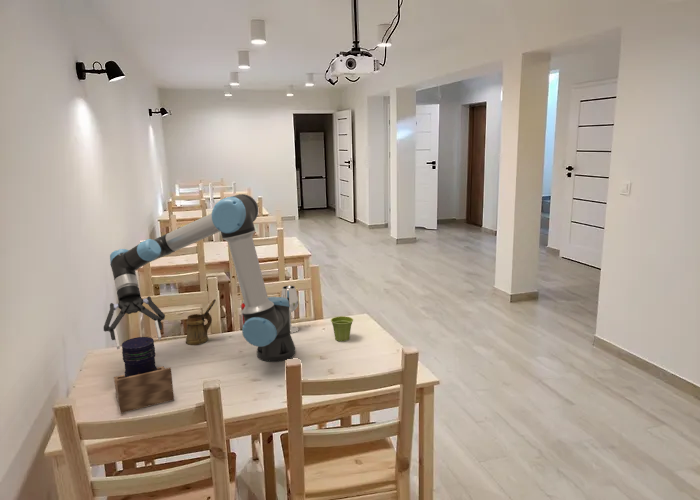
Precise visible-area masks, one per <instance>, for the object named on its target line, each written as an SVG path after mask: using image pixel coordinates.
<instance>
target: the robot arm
mask: <svg viewBox="0 0 700 500" xmlns="http://www.w3.org/2000/svg"><path fill="white" fill-rule="evenodd" d="M211 211H212V212H211V213H209V214H208V215H205V216H202V217H200V218H198V219H196V220H194V221H192V222H190V223H187V224H186V225H183V226H181V227H178V228H176V229H174V230H172V231H170V232H168V233H166V234H164V235H161V236H159V237H156V238H153V239H152V238H148V239H145V240H143V241H141V242H140V243H138V244H137V245H135V246H133V247H132V248H131V249H127V248H119V249H118V250H114V251H112V252H111V253H110V254H109V263H110V268H111V271H112V276H113V280H114V286H115V290H116V295H117V300H118V302H117V303H113V302H111V303H110V304H109V311H108V313H107V317H106V319H105V322H104V325H103V331H104V332H109V333H110V337H111V341H115V346H116V349H117V350H120V341H119V336H118V332H117V329H116V328H117V326H118V325H119V323H120V321H122V319H123V318H124V316H125V314H126V315H132V314H136V313H138V312H140V313H141V314H144V315H145V316H146V317H148V318H149V319H151V320H153V321H154V326H155V331H156V334H157V338H158V341H161V339H162V334H161V331H162V329H163V324H162V321H164V320H165V318H166V315H165V314H166V313H164V312H163V311H162V310H161V309H160V308H159V307H158V306H157V305H156V303H155V302H154V301H153V300H152V297H151V296H147V297H146V298H145V297H144V298H142V296H141V291H140V288H139V282H138V278H137V274H136V271H137V270H139V269H140V268H142V267H143V266H145V265H147V264H149V263H151V262H154V261H156V260H158V259H161V258H162V257H166V256H168V255H171V254H172V253H175V252H176V251H180V250H181V249H184V248H186V247H188V246H190V245H193V244H195V243H197V242H199V241H201V240H205V239H206V238H209V237H210V236H214V235H215V234H217V233H220V234H221V238H222V239H223V240H224V241H226V242H227V243H228V247H229V250H230V254H231V259H232V262H233V266H234V269H235V274H236V276H237V277H236V278H237V282H238V285H239V288H240V292H241V296H242V299H243V300H244V304H245V307H244V309H243V311H242V313H243V317H244V321H245V323H244V325H243V328H242V329H241V331H242V336H243V338H244V339H245V341H246V342H247V343H248V344H250V345H252V346H254V347H257V348H256V356H257V358H258V359H259V360H261V361H264V362H271V363H273V362H274V363H275V362H283V361H287V360H289V359H291V358H293V357H294V356H296V345H295V342H294V340H293V337H292V336H291V335H292V334H291V333H290V313H289V307H290V306H289V301H288V299H286V298H283V297H281V296H268V292H267V289H266V285H265V281H264V277H263V273H262V269H261V266H260V265H261V264H260V261H259V258H258V254H257V249H256V246H255V243H254V238H253V236H254V234H255V232H256V228H255V224H254V222H255V220H256V219H257V218H258V216H259V205H258V203H257V201H256V199H254V197H252V196H250V195H248V194H245V193H241V194H240V193H239V194H236V195H232V196H227V197H224V198H222V199H220V200H219V201H217V202H216V203H215V205H214V206H213V208H212V210H211ZM243 300H242V301H243ZM144 304H146V305H147V306H149V308H150V309H151V310H152V311H151V310H149V309H148V308H146V306H144ZM118 308H119V309H120V311H119V313H118V315H116V318H115V319H114V321H113V322H112V323H111V321H112V318H113V315H114V313H115V311H116V310H117V309H118ZM110 324H111V325H110ZM286 359H287V360H286Z"/></svg>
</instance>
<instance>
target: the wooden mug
mask: <svg viewBox="0 0 700 500" xmlns="http://www.w3.org/2000/svg"><path fill="white" fill-rule="evenodd" d="M215 303H216V299H213V300H212V301H211V302H210V304H209V305H208V307H207V308H206V310H205V312H203V313H201V314H200V313H194V314H190V315H187V319H186V325H187V326H186V338H185V343H186V344H187V345H189V346H197V345H202V344H205V343H206V342H208V340H209V335H208V330H209V329H210V327H211V325H212V321H213V319H212V318H213V317H212V315H211V314H210V313H209V312H210V311H211V309H212V308H213V306H214V305H215ZM206 321H207V323H206V324H205V322H206Z"/></svg>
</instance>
